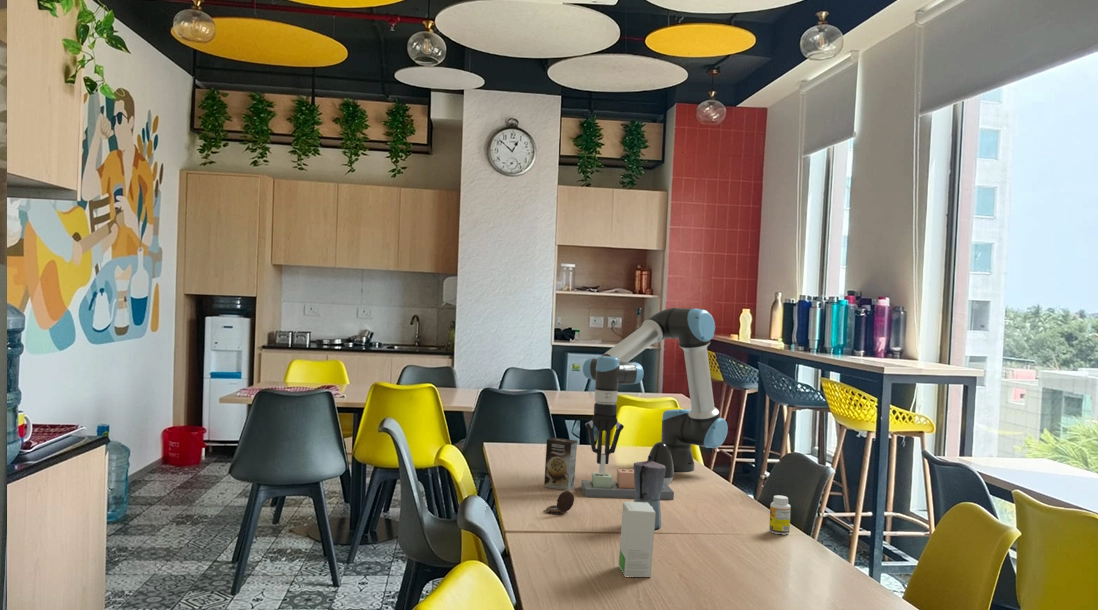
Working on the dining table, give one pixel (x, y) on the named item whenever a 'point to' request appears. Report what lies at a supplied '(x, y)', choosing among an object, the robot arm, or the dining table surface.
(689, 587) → the dining table surface
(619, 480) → the terracotta key
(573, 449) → the coffee box
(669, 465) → the pump dispenser
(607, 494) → the keypad board
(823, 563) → the dining table surface
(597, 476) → the sage key
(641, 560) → the skincare box
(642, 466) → the moka pot
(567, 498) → the compass
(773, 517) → the supplement bottle
